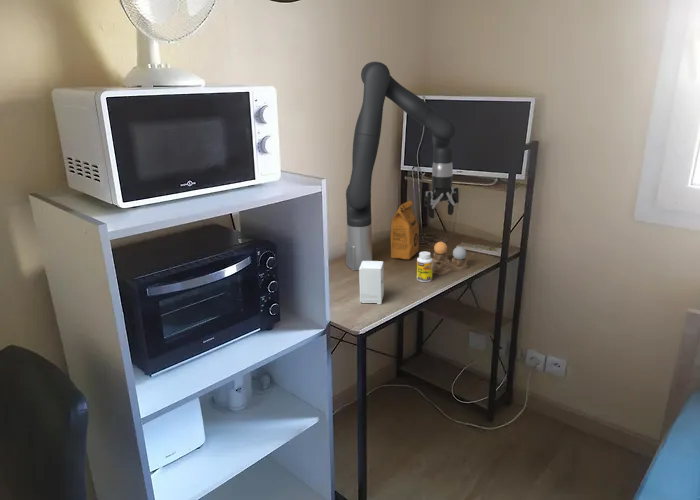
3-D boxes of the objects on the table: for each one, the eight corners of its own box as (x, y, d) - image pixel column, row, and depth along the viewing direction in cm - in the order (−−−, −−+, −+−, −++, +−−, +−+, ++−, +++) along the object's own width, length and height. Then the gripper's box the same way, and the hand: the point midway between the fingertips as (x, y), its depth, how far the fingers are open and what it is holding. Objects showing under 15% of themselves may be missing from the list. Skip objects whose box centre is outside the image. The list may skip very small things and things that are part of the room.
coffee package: (422, 252, 222) (423, 200, 215) (409, 262, 213) (409, 208, 205) (400, 249, 227) (400, 198, 220) (387, 258, 217) (386, 205, 210)
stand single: (438, 264, 209) (439, 256, 208) (431, 260, 213) (431, 252, 212) (449, 262, 211) (449, 254, 210) (441, 258, 215) (442, 250, 214)
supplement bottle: (415, 282, 194) (415, 255, 191) (418, 276, 199) (418, 250, 196) (430, 283, 192) (431, 256, 189) (433, 277, 197) (434, 251, 194)
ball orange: (439, 257, 208) (439, 244, 206) (431, 253, 212) (431, 241, 211) (449, 254, 210) (450, 242, 208) (441, 251, 214) (442, 239, 213)
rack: (437, 275, 199) (438, 266, 198) (430, 271, 203) (430, 262, 202) (468, 268, 205) (468, 259, 204) (460, 264, 209) (460, 255, 208)
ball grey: (458, 262, 202) (458, 250, 200) (449, 258, 206) (450, 246, 204) (468, 260, 204) (469, 247, 202) (460, 256, 208) (461, 244, 207)
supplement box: (381, 304, 177) (381, 268, 173) (359, 303, 178) (358, 268, 174) (384, 295, 184) (383, 260, 180) (362, 294, 185) (361, 260, 181)
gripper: (432, 178, 196) (431, 221, 201) (464, 173, 202) (462, 215, 207) (420, 174, 202) (419, 216, 207) (451, 170, 208) (450, 211, 213)
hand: (441, 216), depth 207 cm, fingers open, 8 cm apart
